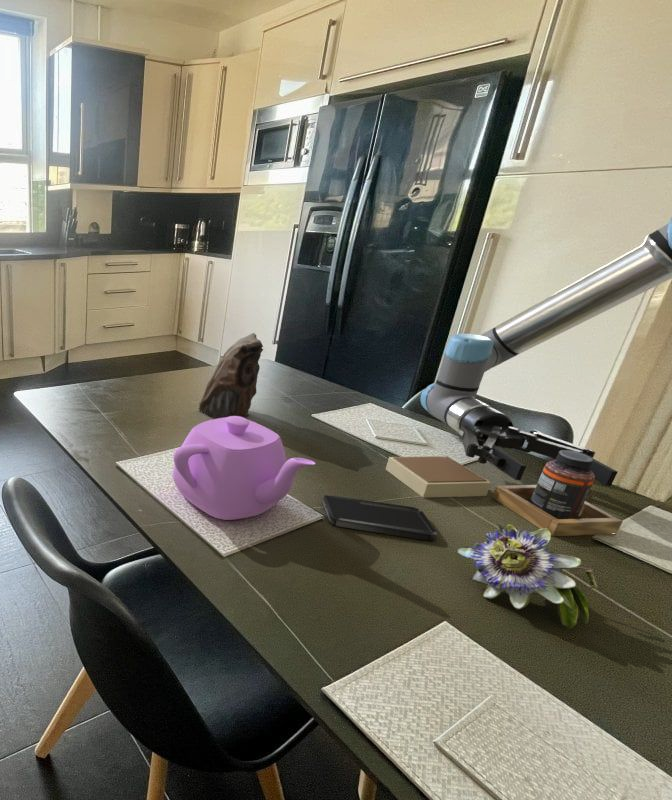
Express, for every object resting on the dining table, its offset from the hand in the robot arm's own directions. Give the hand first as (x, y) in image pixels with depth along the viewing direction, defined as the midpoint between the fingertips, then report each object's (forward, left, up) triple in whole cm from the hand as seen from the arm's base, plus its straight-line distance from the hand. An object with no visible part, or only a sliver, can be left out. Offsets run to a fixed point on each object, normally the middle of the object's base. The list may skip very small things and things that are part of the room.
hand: (566, 476), depth 79 cm
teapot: (+53, -7, -8) cm, 54 cm away
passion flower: (+23, +17, -8) cm, 30 cm away
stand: (+12, -11, -7) cm, 18 cm away
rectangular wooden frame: (0, 0, -7) cm, 7 cm away
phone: (+31, 0, -8) cm, 32 cm away
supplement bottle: (0, 0, -8) cm, 8 cm away
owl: (+40, -44, -8) cm, 60 cm away
